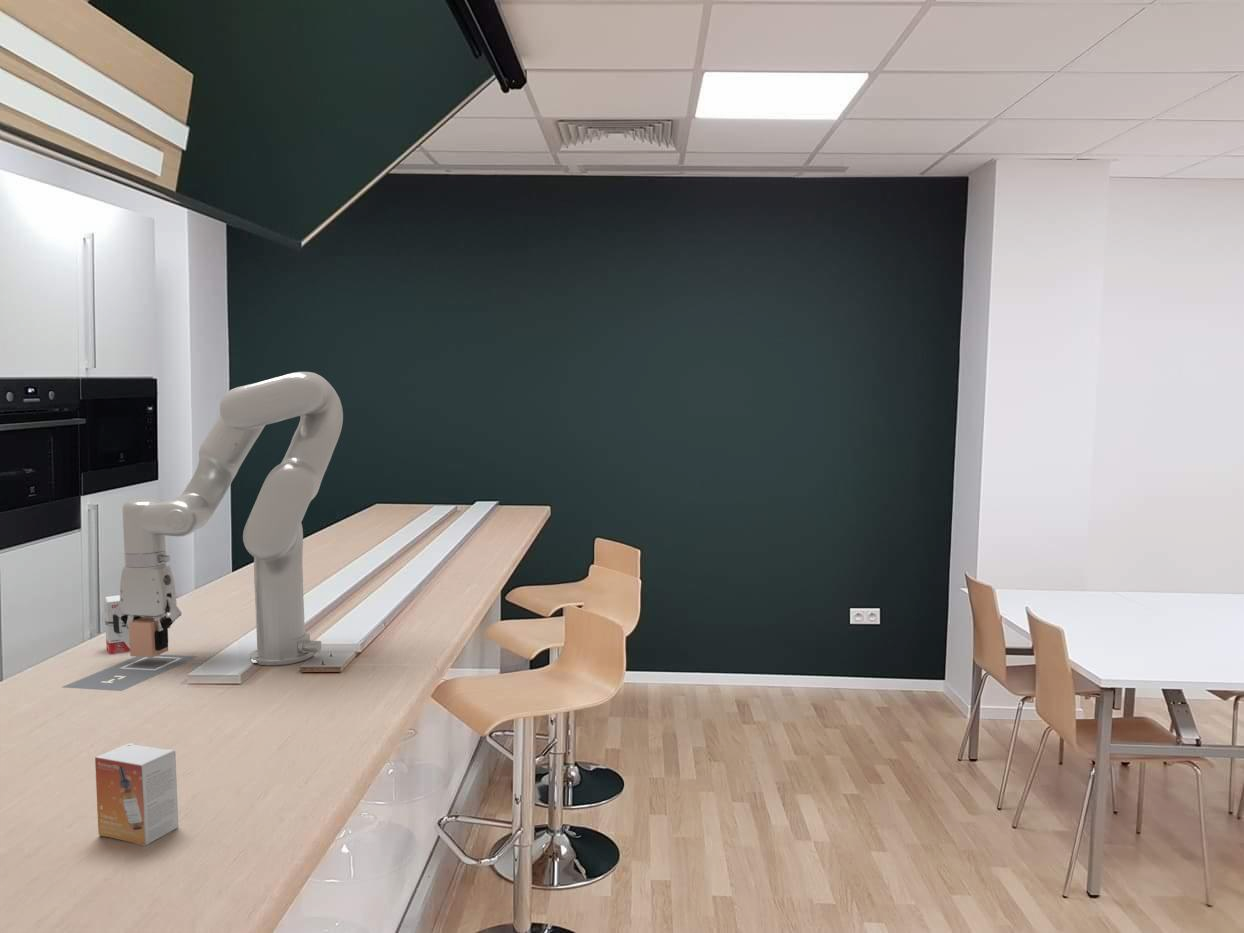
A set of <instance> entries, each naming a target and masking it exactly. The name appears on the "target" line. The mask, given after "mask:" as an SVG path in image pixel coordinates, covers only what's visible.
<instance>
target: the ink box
mask: <svg viewBox="0 0 1244 933" xmlns="http://www.w3.org/2000/svg"><path fill="white" fill-rule="evenodd" d="M103 602H104V619H105V620H104V623H105V642H106V651H107V652H108V654H109V655H115V654H120V653H121V654H123V653H128V652H129V653H130V638H129V630H128V629H127V628H126V625H125V623H124V622H123V621H122V620H121V618H120V617H118V616H117V615H116V614H115V613H114V610H115V609H116V607H117V606H118V604H119V603H120V594H118V595H112V596H110V595H109V596H106V597H104V601H103ZM142 617H145V616H142Z"/></svg>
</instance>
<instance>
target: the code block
mask: <svg viewBox="0 0 1244 933" xmlns="http://www.w3.org/2000/svg"><path fill="white" fill-rule="evenodd" d="M161 621H162V618H161ZM155 631H157V628H156V625H155V621H154V618H153V617H147V616H145V617H142V618H139V619H136V620H133V621H131V622H129V638H130V651H129V656H130V657H136V656H137V657H155V656H157V655H159V654H161V655H163V654H164V653H166V652H168V651H169V646H168V647H167V648H164V649H162V650H159V651H157V650H156V649H155Z"/></svg>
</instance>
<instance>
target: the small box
mask: <svg viewBox="0 0 1244 933" xmlns="http://www.w3.org/2000/svg"><path fill="white" fill-rule="evenodd" d="M176 757H177V756H176V750H174V749H164V748H160V747H159V748H158V747H152V746H146V745H141V744H136V743H133V742H132V743H131V742H129V743H126V744H123V745H121V746H118V747H117V748H115V749H112V750H109V751H106V752H105V753H102V754H100V755H97V756H95V758H94V759H95V761H94V763H95V781H96V782H95V784H96V787H95V788H96V789H95V790H96V803H97V804H96V806H97V807H96V810H97V827H98V828H97V832H98V836H101V837H107V838H112V839H115V840H119V841H120V840H121V841H125V842H129V843H133V844H136V845H137V844H138V845H140V846H143V847H145V846H147V845H149V844H151V843H152V842H154V841H156V840H158V839H160V838H162V837H164V836H165V835H167V834H168V833H169V834H170V833H171V832H173V831H174V830H176V829H178V828H179V810H178V808H179V807H178V804H179V803H178V786H177V785H178V783H177V782H178V779H177V760H176Z"/></svg>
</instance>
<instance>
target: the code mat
mask: <svg viewBox="0 0 1244 933" xmlns="http://www.w3.org/2000/svg"><path fill="white" fill-rule="evenodd" d="M195 658H198V656H197V655H179V654H159V655H157V656H155V657H137V656H133V657H132V658H129V659H126V660H124V661H122V662H119V663H117V664H114V665H112V666H110V667H109V666H108V667H107V668H104V669H101V670H100V671H97V672H95V673H93V674H90V675H88V676H85V677H83V678H80V679H78V680H75V681H72V682H70V683H68V684H65V685H63V686H62V688H64V689H65V688H69V689H80V690H83V689H84V690H101V691H115V692H123V691H125V690H128V689H129V688H132V687H134V686H137V685H139V684H140V683H143V682H145V681H148V680H150V679H151V678H154V677H155V676H159V675H160V674H162V673H165V672H167V671H169V670H171V669H173V668H176V667H178V666H180V665H182V664H185V663H187V662H189V661H191V660H193V659H195Z"/></svg>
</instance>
